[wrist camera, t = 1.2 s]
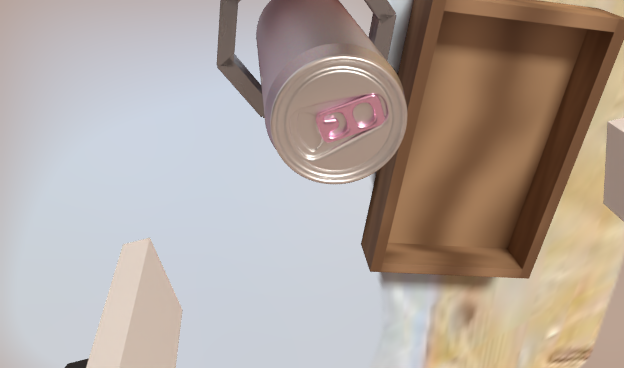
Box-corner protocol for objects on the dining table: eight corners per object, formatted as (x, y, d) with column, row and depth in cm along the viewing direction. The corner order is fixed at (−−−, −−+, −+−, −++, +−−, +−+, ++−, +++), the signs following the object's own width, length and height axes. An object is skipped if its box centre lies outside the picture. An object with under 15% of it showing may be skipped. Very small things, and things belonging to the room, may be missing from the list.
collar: (214, 103, 37) (213, 113, 36) (225, -68, 32) (224, -66, 31) (367, 117, 39) (373, 127, 37) (399, -44, 34) (407, -40, 32)
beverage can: (360, 60, 37) (426, 161, 24) (275, 91, 37) (294, 207, 24) (333, -31, 34) (392, 28, 21) (241, 4, 34) (243, 82, 21)
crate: (361, 244, 44) (370, 271, 41) (417, -16, 35) (434, -6, 32) (509, 251, 46) (528, 278, 43) (599, 8, 37) (631, 20, 34)
